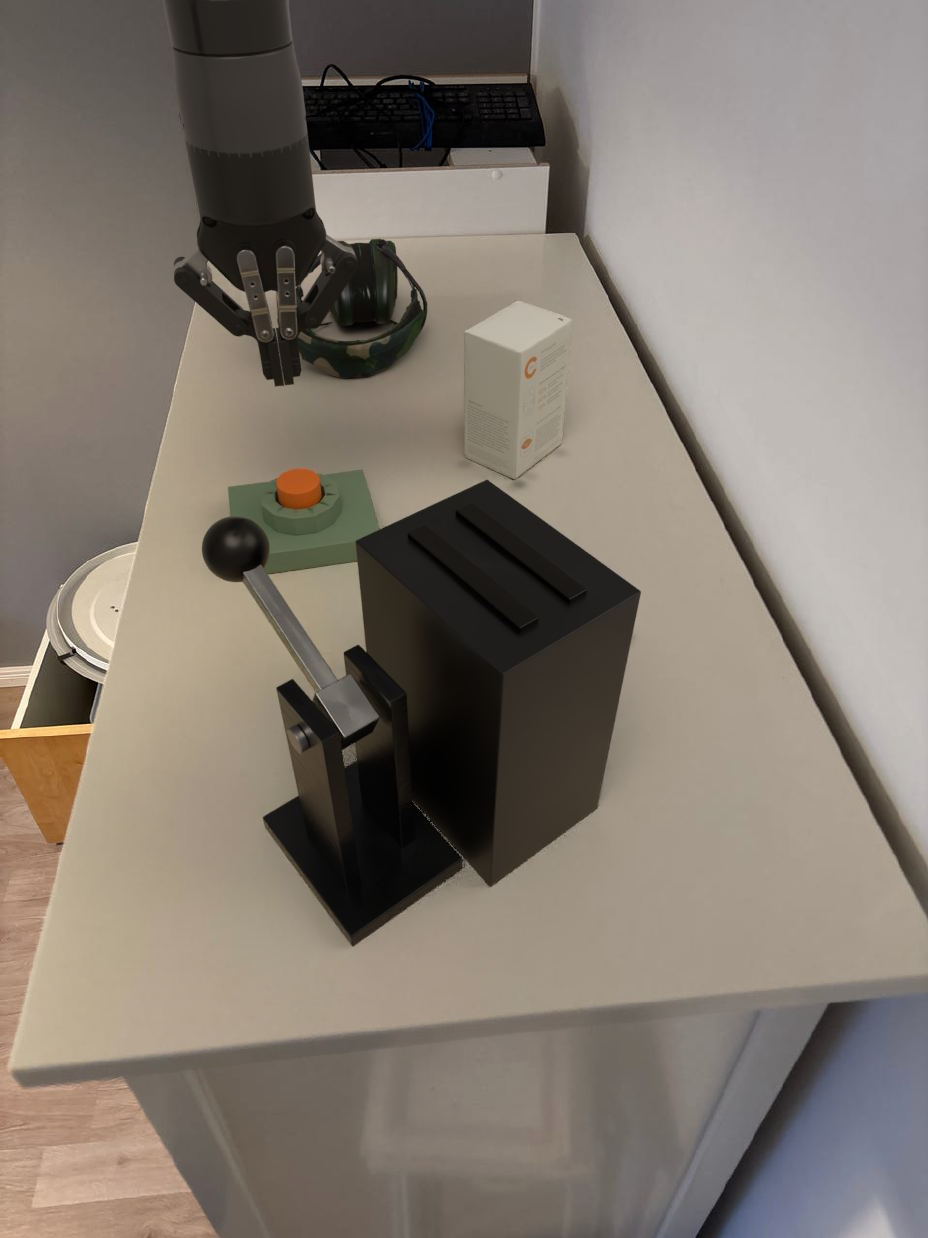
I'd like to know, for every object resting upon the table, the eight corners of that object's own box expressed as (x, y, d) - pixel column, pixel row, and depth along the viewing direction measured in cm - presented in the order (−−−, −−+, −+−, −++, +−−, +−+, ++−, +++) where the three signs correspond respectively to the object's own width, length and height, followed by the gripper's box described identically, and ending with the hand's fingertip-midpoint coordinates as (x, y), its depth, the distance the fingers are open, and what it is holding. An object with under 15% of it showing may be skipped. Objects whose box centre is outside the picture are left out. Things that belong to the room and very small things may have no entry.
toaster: (376, 759, 60) (354, 535, 46) (479, 696, 64) (487, 473, 50) (490, 887, 53) (503, 669, 40) (597, 808, 57) (643, 585, 44)
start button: (280, 513, 73) (277, 496, 72) (276, 487, 76) (274, 470, 74) (324, 507, 74) (322, 490, 72) (319, 482, 76) (317, 465, 75)
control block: (238, 578, 73) (229, 540, 70) (232, 506, 80) (224, 469, 77) (383, 557, 75) (380, 520, 72) (364, 488, 82) (361, 452, 79)
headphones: (268, 258, 104) (272, 365, 92) (343, 175, 98) (357, 278, 86) (353, 323, 113) (367, 428, 101) (427, 251, 107) (451, 353, 95)
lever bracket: (264, 827, 56) (222, 668, 46) (370, 763, 60) (353, 602, 49) (352, 947, 50) (326, 797, 40) (463, 869, 54) (465, 712, 44)
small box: (511, 422, 90) (517, 297, 81) (563, 444, 87) (576, 318, 78) (461, 457, 85) (462, 329, 76) (514, 481, 83) (521, 352, 74)
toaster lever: (189, 553, 50) (188, 519, 47) (247, 528, 51) (250, 493, 48) (324, 763, 46) (333, 741, 43) (381, 730, 48) (394, 706, 45)
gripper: (133, 154, 51) (195, 417, 63) (360, 138, 53) (378, 395, 66) (136, 116, 56) (193, 366, 68) (343, 104, 59) (363, 347, 71)
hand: (284, 380), depth 67 cm, fingers closed
